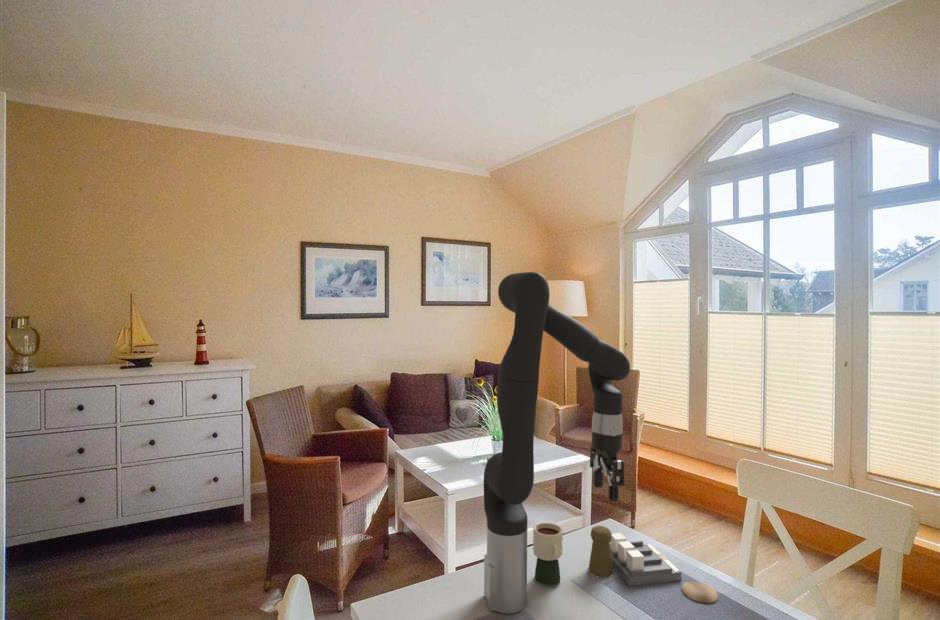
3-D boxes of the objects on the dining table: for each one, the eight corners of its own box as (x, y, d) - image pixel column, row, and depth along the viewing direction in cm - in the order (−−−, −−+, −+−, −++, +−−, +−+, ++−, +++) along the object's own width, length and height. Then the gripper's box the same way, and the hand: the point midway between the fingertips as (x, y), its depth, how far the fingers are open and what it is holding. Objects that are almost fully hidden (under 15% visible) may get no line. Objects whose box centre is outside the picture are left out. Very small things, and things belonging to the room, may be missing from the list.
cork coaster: (695, 604, 107) (695, 602, 107) (675, 585, 114) (675, 583, 114) (725, 601, 108) (725, 599, 108) (703, 582, 116) (703, 580, 116)
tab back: (615, 554, 124) (615, 539, 124) (609, 548, 127) (610, 533, 127) (625, 553, 125) (626, 538, 125) (620, 547, 128) (620, 533, 128)
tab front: (632, 573, 115) (632, 557, 115) (626, 566, 118) (626, 550, 118) (643, 572, 116) (644, 556, 116) (637, 565, 119) (637, 549, 119)
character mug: (570, 592, 111) (570, 538, 111) (541, 596, 110) (542, 540, 109) (552, 567, 122) (553, 517, 122) (526, 570, 120) (526, 519, 120)
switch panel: (629, 585, 114) (629, 573, 114) (602, 555, 128) (602, 544, 128) (681, 580, 117) (681, 568, 117) (649, 550, 130) (650, 540, 130)
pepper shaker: (614, 579, 117) (614, 535, 117) (589, 576, 118) (589, 532, 118) (611, 565, 123) (612, 524, 122) (588, 563, 124) (588, 521, 124)
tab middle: (623, 563, 120) (623, 548, 120) (617, 557, 123) (618, 542, 123) (634, 562, 120) (634, 547, 120) (628, 556, 123) (628, 541, 123)
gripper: (581, 423, 126) (580, 483, 126) (605, 438, 112) (604, 506, 112) (608, 422, 127) (606, 482, 127) (635, 437, 113) (633, 504, 113)
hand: (605, 493), depth 119 cm, fingers open, 8 cm apart
